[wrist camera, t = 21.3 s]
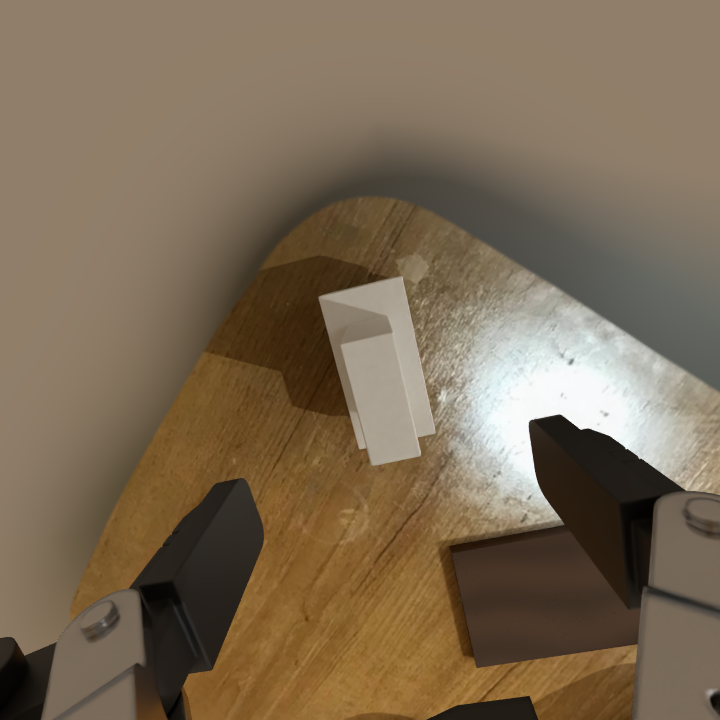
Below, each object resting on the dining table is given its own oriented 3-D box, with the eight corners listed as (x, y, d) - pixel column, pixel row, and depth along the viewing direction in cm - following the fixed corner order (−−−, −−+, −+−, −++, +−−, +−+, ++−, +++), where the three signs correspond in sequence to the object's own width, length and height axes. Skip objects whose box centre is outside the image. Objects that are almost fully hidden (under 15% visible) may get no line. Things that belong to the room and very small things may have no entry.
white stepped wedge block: (361, 424, 27) (354, 508, 18) (326, 293, 25) (297, 306, 15) (426, 410, 27) (457, 488, 17) (397, 275, 25) (413, 277, 15)
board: (449, 546, 30) (451, 553, 29) (654, 509, 28) (662, 515, 27) (474, 658, 32) (476, 668, 31) (663, 630, 31) (670, 639, 30)
